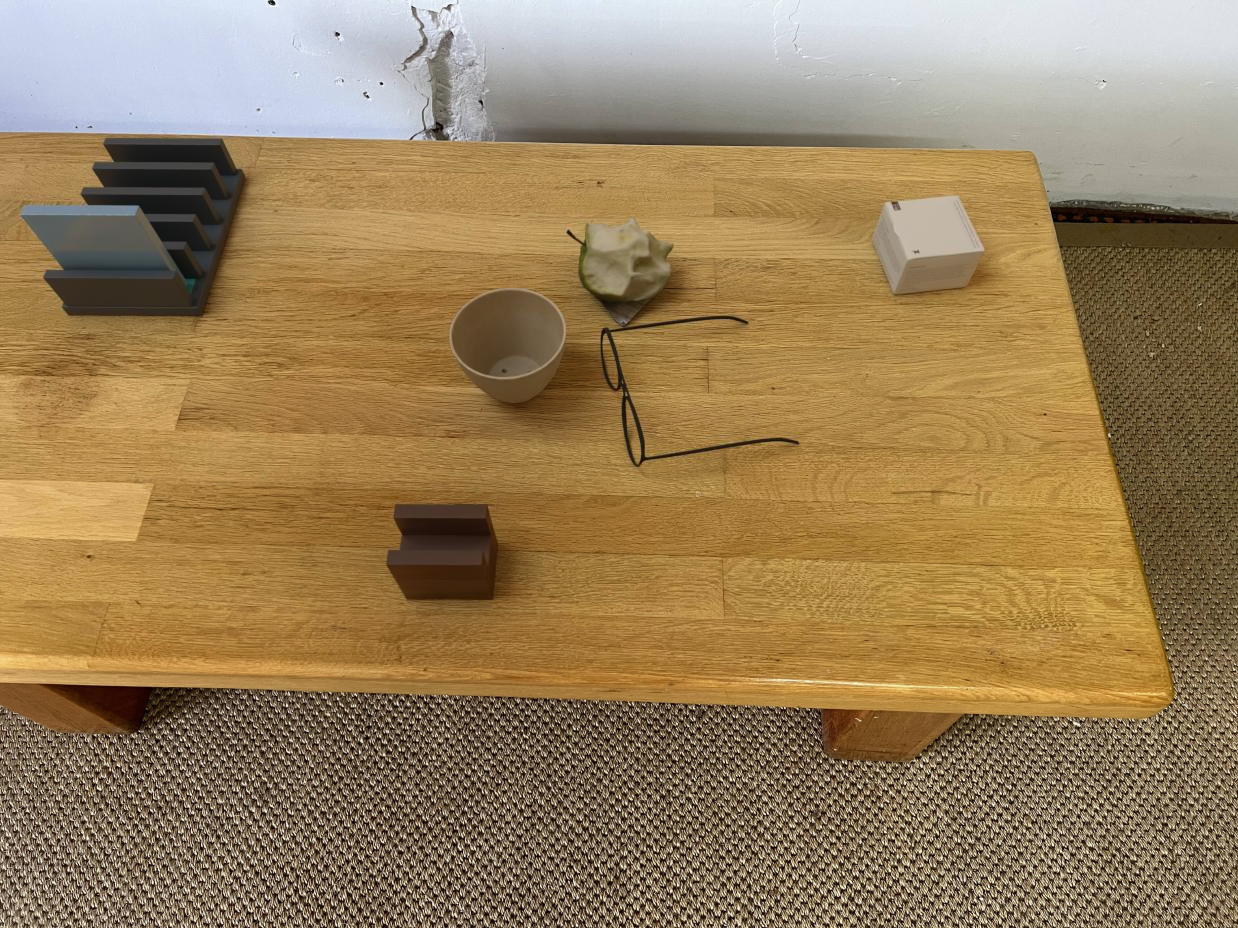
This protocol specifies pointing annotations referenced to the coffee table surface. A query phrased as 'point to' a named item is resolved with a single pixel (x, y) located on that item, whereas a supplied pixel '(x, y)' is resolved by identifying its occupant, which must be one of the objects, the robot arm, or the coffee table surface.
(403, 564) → the stand
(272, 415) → the coffee table surface
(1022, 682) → the coffee table surface
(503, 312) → the flower pot
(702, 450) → the glasses
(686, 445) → the coffee table surface
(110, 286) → the rack
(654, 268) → the fruit
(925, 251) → the small box
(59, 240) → the plate
